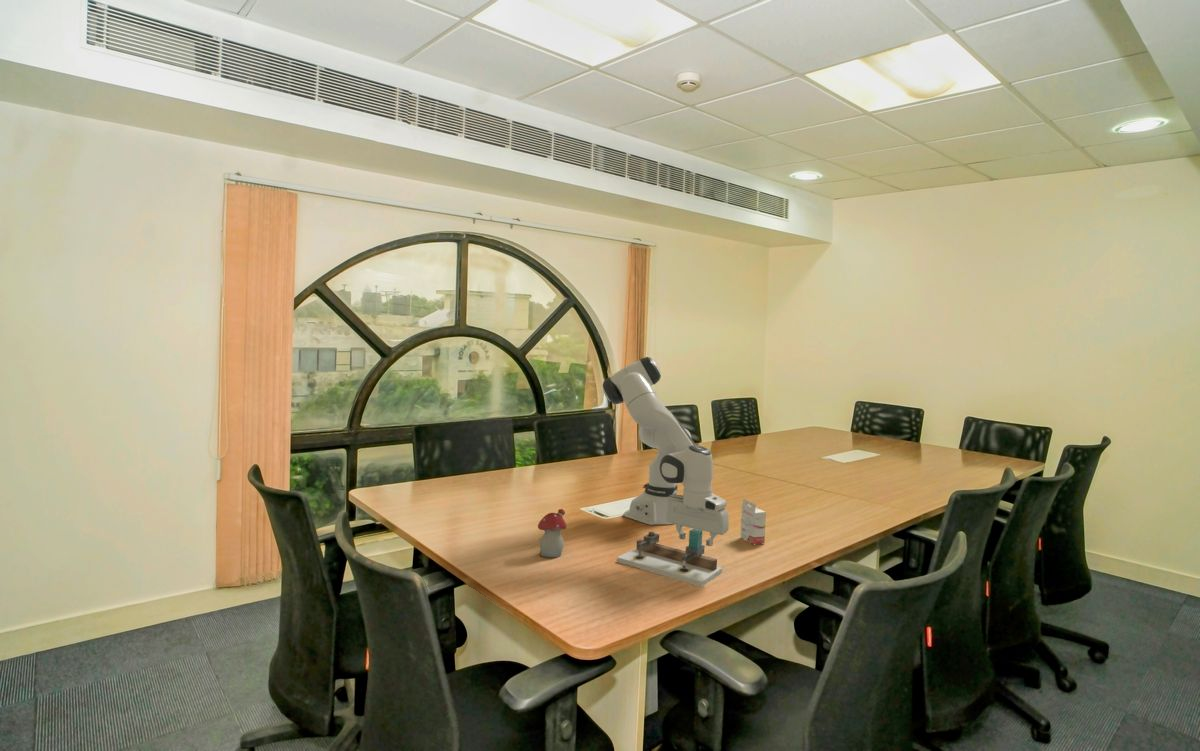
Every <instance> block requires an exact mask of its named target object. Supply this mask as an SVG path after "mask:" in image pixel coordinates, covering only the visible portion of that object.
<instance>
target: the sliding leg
mask: <svg viewBox="0 0 1200 751" xmlns="http://www.w3.org/2000/svg"><path fill="white" fill-rule="evenodd" d="M688 534H689V535H688V545H687V546H685V551H686V554H685V555H683V556H682V560H683V568H685V567H686V560H688V559H689V558H691V557H696V558H697V557H699V556H701V555H702V556H703V555H704V554H705V546H706V545H703V531H702V530H698V529H694V528H691V529H690V530H689V531H688Z"/></svg>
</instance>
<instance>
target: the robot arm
mask: <svg viewBox="0 0 1200 751" xmlns="http://www.w3.org/2000/svg"><path fill="white" fill-rule="evenodd" d="M661 377H662V376H661V368H660V366H659V364H658V363H657V362H656V361H655V360H654V359H652V357H649V356H646V357H642V358H639V360H637V361H634V362H632V363H630V364H628V365H626V366H624V367H623V368H621V369H620V370H618V371H616V372H615V373H614V374H612V375H611V376H608V377H607V378H606V379H605V380H603V382H602V390H603V391H602V392H603V395H604V396H605V398H606V399H607V401H609V402H611V404H613V405H618V404H619V405H620V404H622V403H623V404H624V405H625V407H626V409H627V411H628V413H629V415H630V416H631V418H632V419H633V421H635V423H636V424H637V425H639V429H638V438H639V440H640V442H642V443H643V444H645V445H646V446H648V447H649V448H653V449H657V454H656V457H655V459H654V460H652V461H651V462H650V463H649V465H648V466H649V470H648V482H647V483H645V484H643V485H642V489H644V491H643V492H642V493H640V494H639V495H637V496H636V497H634V498H633V499H632V500H631V502H630V505H629V509H626V510H625V511H624V512H623V517H625V518H628V519H632V520H635V521H636V522H641V523H642V524H646V525H650V526H653V525H654V526H655V525H673V524H674V525H675V528H676V532H678V539H680V540H685V539H686V532H684V530H683V527H685V528H690V529H697V530H702V532H707V533H709V536H710V538H708V539H706V540H705V543H706V544H705V546H708V547H712V546H713V545H714V539H715V538H716V536H717V535H720V536H722V535H725V534H726V533H727V532H728V531H729V525H730V524H729V523H730V522H729V520H730V519H729V513H728V510H727V509H726V507H727V505H728V502H727V500H725V499H724V498H722V497H721V496H719V495H717V494H715V493H714V492H713V487H712V486H713V485H712V480H713V477H714V459H713V455H712V452H711V450H710V449H708V448H707V447H705V446H702V445H697V444H696V443H695V441H694V440H693V438H692V434H691V432H690V431H689V430H688V429H686V428H685V427H684V426H683V425H682V424H681V422H680V420H679V419H678V418H677V417H676V415H675V414H674V413H672V412H671V411H670V410H669V409H668V408H667V407H666V406H665V404H664V403H663V402H662V400H660V397H659V395H658V394H657V392H656V390H655V389H654V387H653V385H656V384H658V382H659V381H660V380H661ZM678 484H682V485H683V494H682V495H680V494H678Z"/></svg>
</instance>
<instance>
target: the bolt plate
mask: <svg viewBox="0 0 1200 751" xmlns="http://www.w3.org/2000/svg"><path fill="white" fill-rule="evenodd" d="M636 548H637V547H635V548H632V549H631V550H629V551H627V552H625V553H623V554H620V555H618V556H617V557H616V563H620V564H624V565H626V566H631V567H634V568H637V569H640V570H643V571H647V572H651V573H654V574H658V575H660V576H663V577H667V578H671V579H674V580H677V581H681V582H684V583H688V584H691V585H695V586H697V587H701V588H702V587H704V586H706V585H707V584H708V583H710V582H711V581H713V580H714V579H716V576H717V577H718V576H719V575H721V574H722V573H723V567H720V566H717V569H716V570H714V571H713V570H709V569H705V568H702V567H698V566H694V565H691V564H687V563H686V567H685V568H683V562H680V561H676V560H673V559H669V558H665V557H662V556H658V555H654V554H651V553H647V552H644V551H641V555H638V554H639V550H636Z"/></svg>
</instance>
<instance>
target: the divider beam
mask: <svg viewBox="0 0 1200 751" xmlns="http://www.w3.org/2000/svg"><path fill="white" fill-rule="evenodd" d="M658 542H660V534H658V533H655V531H652V530H651V531H648V534H645V535H643V539H638V540H636V547H635V548H636V550H639V554H638V555H641V551H644V552H647V553H651V554H654V555H658V556H662V557H665V558H669V559H673V560H676V561H680V562H683V560H682V556H683V555H685V554H686V550H682V549H679V548H675V547H671V546H667V545H664V544H659V543H658ZM686 563H687V564H691V565H694V566H698V567H702V568H705V569H709V570H713V571H714V570H716V569H717V567H718V559H716V558H713V557H710V556H705V555H703V554H702V555H701V556H699V557H697V558H696V557H691V558H689V559H688V560H686Z"/></svg>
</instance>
